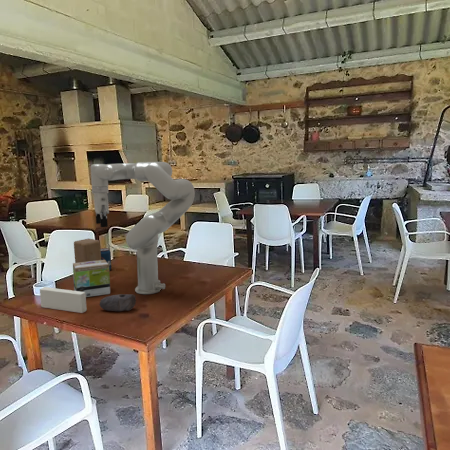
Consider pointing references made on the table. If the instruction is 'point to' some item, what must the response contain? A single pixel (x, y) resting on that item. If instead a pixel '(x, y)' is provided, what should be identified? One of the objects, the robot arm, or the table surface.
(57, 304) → the plank
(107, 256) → the soda can
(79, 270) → the tea box
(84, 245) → the wooden block
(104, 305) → the perforated stone tool
